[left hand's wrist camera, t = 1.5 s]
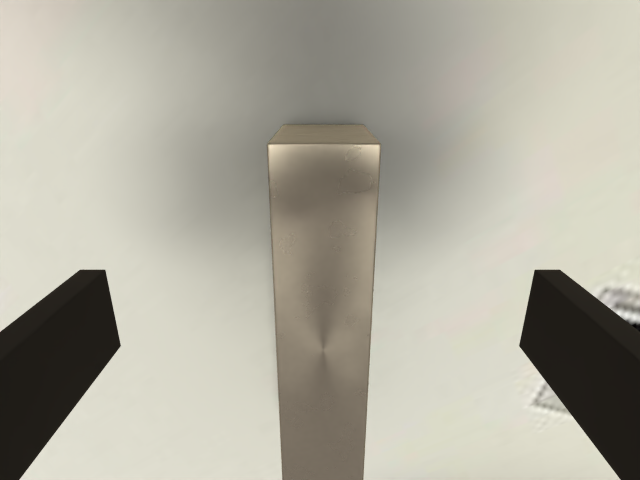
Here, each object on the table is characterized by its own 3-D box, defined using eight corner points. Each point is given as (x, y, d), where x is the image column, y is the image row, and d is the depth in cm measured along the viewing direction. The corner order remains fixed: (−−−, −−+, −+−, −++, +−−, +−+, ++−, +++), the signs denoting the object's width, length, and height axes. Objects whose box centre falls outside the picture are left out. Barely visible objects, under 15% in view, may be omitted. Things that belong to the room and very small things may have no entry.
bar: (283, 124, 27) (266, 143, 19) (363, 124, 27) (381, 143, 19) (291, 401, 35) (282, 494, 27) (353, 401, 35) (362, 494, 27)
